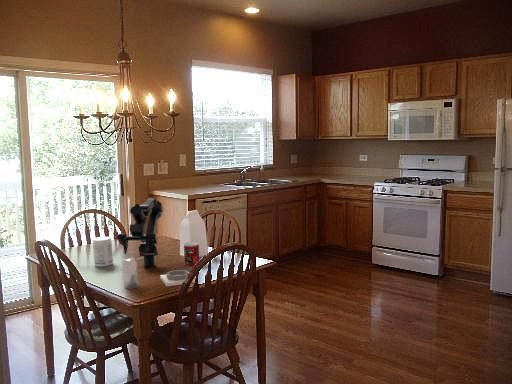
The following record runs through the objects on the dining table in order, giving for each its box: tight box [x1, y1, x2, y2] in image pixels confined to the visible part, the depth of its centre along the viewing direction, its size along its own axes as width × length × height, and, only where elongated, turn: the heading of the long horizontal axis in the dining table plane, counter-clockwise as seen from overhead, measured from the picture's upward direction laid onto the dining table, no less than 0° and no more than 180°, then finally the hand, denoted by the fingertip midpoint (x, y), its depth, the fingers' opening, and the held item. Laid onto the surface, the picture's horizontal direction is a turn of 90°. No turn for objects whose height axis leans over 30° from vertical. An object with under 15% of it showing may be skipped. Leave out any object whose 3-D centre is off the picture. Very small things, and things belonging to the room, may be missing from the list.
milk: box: [179, 209, 209, 258], centre depth 270 cm, size 12×12×26 cm
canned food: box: [183, 242, 200, 266], centre depth 254 cm, size 8×8×11 cm
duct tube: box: [122, 257, 139, 290], centre depth 217 cm, size 6×6×13 cm
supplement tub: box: [92, 236, 114, 268], centre depth 254 cm, size 10×10×15 cm
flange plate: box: [159, 269, 195, 287], centre depth 226 cm, size 14×14×4 cm
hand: (134, 253), depth 224 cm, fingers open, 9 cm apart
